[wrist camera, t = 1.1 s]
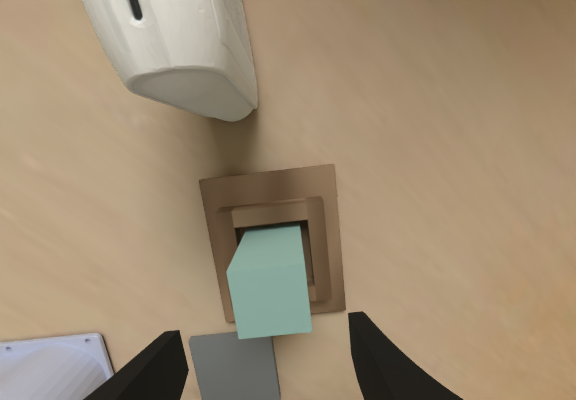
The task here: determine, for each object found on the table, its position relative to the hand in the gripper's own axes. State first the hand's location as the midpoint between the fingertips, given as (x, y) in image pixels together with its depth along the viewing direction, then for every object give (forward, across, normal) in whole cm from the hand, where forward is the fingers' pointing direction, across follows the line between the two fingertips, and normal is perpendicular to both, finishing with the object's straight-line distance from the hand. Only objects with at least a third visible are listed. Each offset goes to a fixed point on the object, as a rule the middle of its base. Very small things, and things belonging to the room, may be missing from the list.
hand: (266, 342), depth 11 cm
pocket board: (+10, 0, 0) cm, 10 cm away
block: (+10, 0, 0) cm, 10 cm away
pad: (+10, +5, +11) cm, 16 cm away
